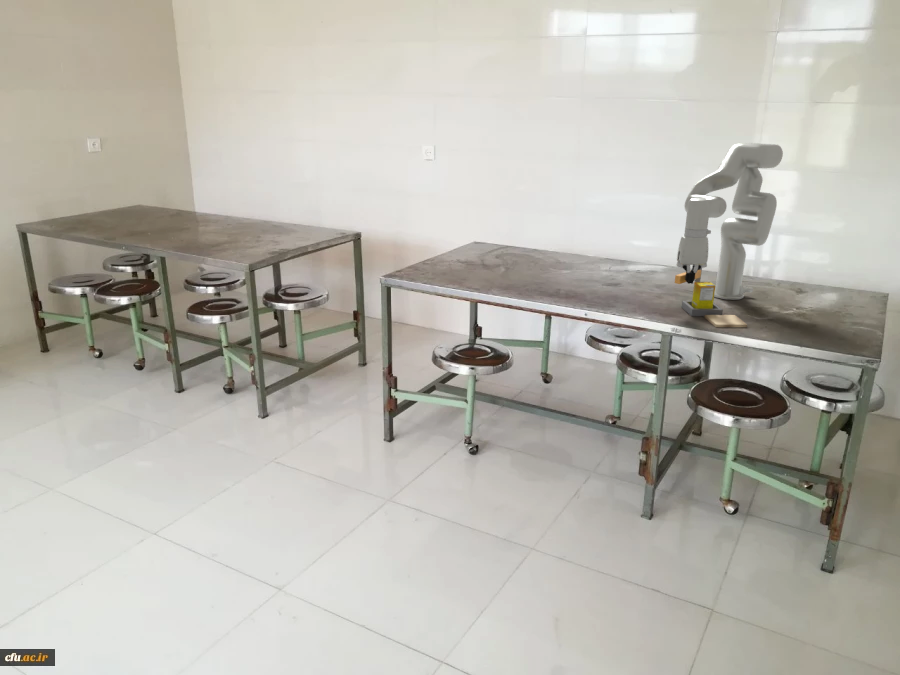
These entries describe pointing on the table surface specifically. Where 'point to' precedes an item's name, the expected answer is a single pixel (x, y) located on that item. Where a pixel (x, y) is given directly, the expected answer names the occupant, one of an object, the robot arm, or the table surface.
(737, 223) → the robot arm
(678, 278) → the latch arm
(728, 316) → the oak board
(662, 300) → the table surface
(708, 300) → the supplement box
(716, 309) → the socket collar
